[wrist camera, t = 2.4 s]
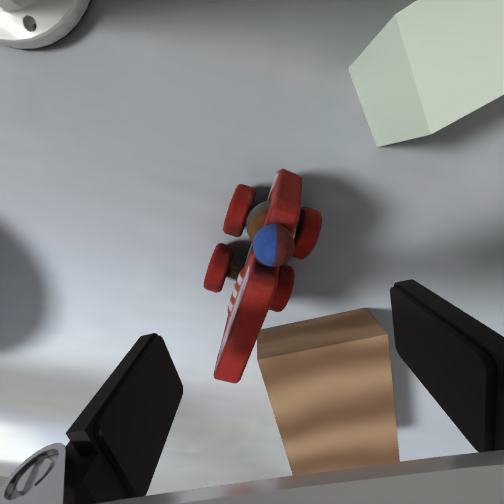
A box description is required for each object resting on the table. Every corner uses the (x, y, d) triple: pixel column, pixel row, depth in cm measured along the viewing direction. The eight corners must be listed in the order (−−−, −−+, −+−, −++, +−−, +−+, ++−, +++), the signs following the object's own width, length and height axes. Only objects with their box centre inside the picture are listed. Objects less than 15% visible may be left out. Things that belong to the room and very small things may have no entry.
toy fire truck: (324, 189, 20) (395, 202, 10) (270, 310, 23) (282, 409, 13) (246, 158, 19) (237, 139, 9) (203, 288, 23) (163, 376, 13)
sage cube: (347, 68, 17) (395, 14, 11) (429, 17, 16) (527, -72, 10) (376, 147, 18) (430, 134, 13) (452, 104, 18) (548, 69, 12)
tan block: (256, 330, 24) (257, 359, 20) (365, 307, 23) (387, 334, 19) (288, 437, 29) (293, 478, 25) (379, 422, 28) (399, 462, 24)
